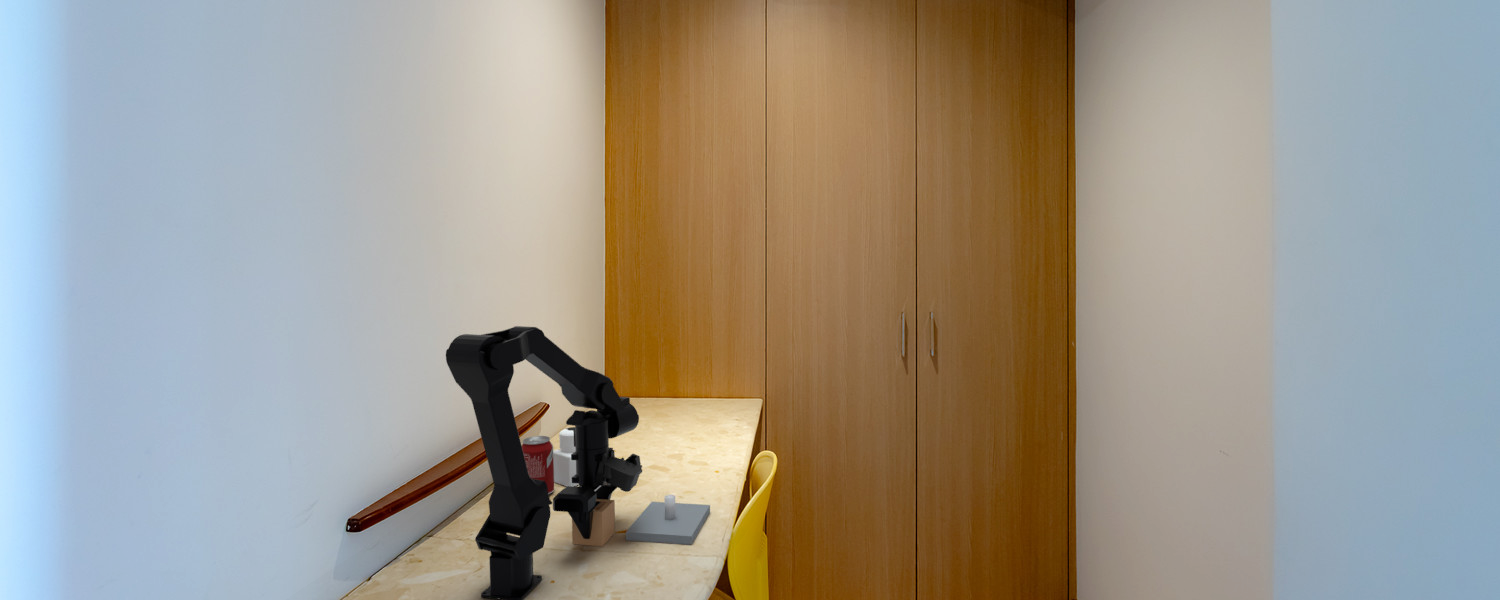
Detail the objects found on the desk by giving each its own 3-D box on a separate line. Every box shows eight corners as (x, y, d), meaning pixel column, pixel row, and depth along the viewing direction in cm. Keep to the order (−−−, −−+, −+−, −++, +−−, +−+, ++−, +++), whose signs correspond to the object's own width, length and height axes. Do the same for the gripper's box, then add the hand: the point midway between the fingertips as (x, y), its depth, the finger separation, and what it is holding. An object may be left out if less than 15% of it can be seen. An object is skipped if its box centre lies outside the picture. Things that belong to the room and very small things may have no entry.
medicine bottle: (578, 473, 141) (577, 423, 140) (596, 479, 136) (595, 428, 136) (551, 481, 135) (550, 429, 135) (569, 488, 131) (568, 435, 130)
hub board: (691, 544, 103) (691, 513, 103) (626, 540, 105) (625, 509, 105) (710, 512, 117) (709, 485, 117) (651, 508, 119) (651, 482, 119)
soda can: (543, 501, 123) (542, 444, 123) (514, 499, 125) (512, 443, 124) (560, 489, 130) (558, 435, 129) (532, 487, 131) (530, 434, 131)
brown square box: (602, 546, 103) (601, 512, 103) (572, 544, 104) (571, 510, 104) (615, 532, 109) (614, 500, 108) (586, 530, 109) (585, 498, 109)
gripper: (614, 464, 95) (616, 559, 96) (652, 432, 113) (654, 512, 114) (550, 461, 97) (552, 554, 97) (597, 430, 115) (599, 509, 116)
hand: (594, 531), depth 106 cm, fingers closed on brown square box, 6 cm apart
